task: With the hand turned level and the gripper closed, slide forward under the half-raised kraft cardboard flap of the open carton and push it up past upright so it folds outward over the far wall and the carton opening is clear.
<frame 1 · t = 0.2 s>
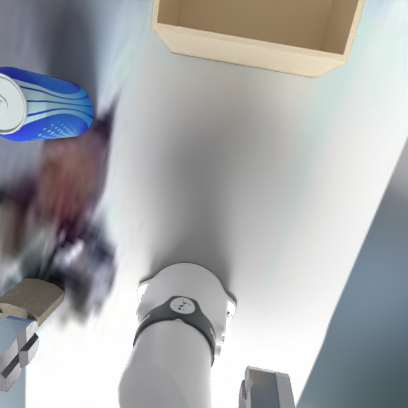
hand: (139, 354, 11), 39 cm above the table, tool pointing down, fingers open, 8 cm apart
padlock: (45, 289, 58), on the table
beer can: (73, 110, 48), on the table
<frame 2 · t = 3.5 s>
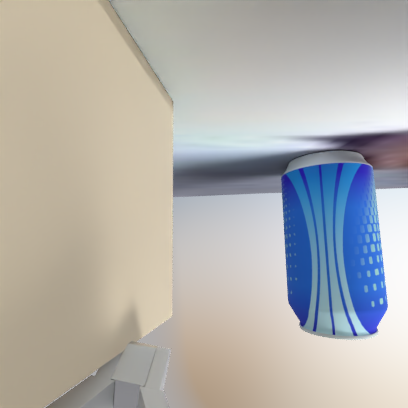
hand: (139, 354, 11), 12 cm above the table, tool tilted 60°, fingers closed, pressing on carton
beer can: (323, 159, 29), on the table
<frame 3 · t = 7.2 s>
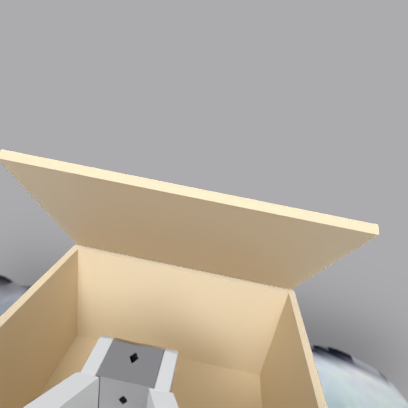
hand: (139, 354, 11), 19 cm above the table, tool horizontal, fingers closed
carton flap: (184, 237, 22), point 18 cm above the table, hinge at 50.0°
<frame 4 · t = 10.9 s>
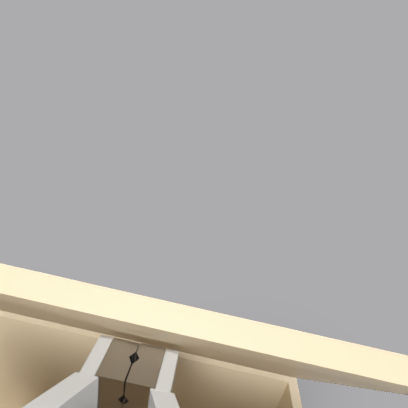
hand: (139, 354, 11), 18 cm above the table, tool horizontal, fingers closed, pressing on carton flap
carton flap: (109, 323, 13), point 18 cm above the table, hinge at 50.8°, touching gripper
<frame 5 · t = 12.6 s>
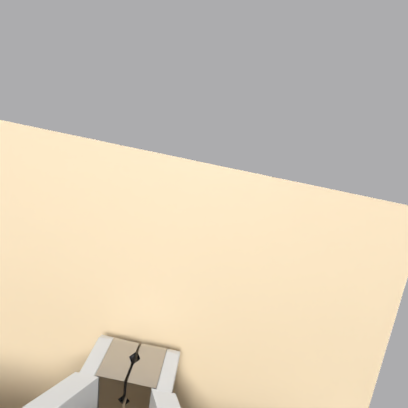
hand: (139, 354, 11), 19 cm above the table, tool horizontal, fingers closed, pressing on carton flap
carton flap: (110, 325, 12), point 19 cm above the table, hinge at 105.4°, touching gripper
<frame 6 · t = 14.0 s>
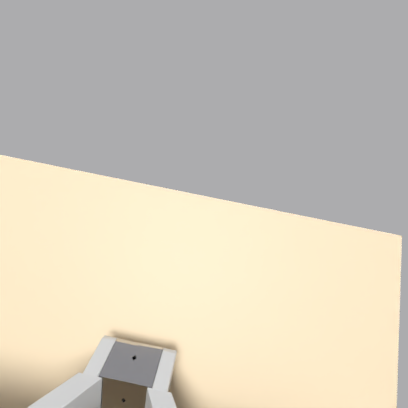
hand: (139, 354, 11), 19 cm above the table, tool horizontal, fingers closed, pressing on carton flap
carton flap: (133, 353, 12), point 18 cm above the table, hinge at 126.5°, touching gripper
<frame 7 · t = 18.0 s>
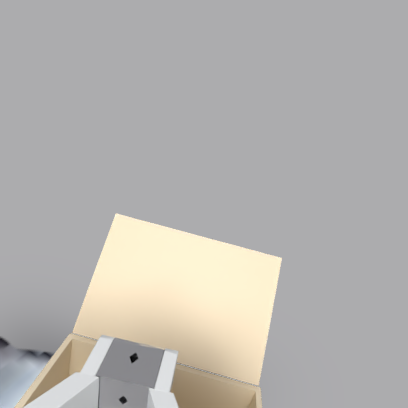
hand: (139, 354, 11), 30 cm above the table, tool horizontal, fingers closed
carton flap: (182, 293, 34), point 18 cm above the table, hinge at 126.6°
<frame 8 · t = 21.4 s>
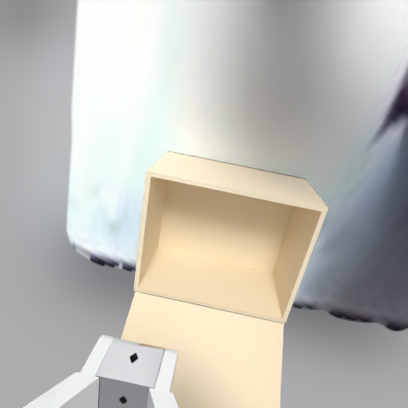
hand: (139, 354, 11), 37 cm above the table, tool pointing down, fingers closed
carton flap: (199, 364, 37), point 18 cm above the table, hinge at 126.6°
carton: (224, 216, 49), on the table
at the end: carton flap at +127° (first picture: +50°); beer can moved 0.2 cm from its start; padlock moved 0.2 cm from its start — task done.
